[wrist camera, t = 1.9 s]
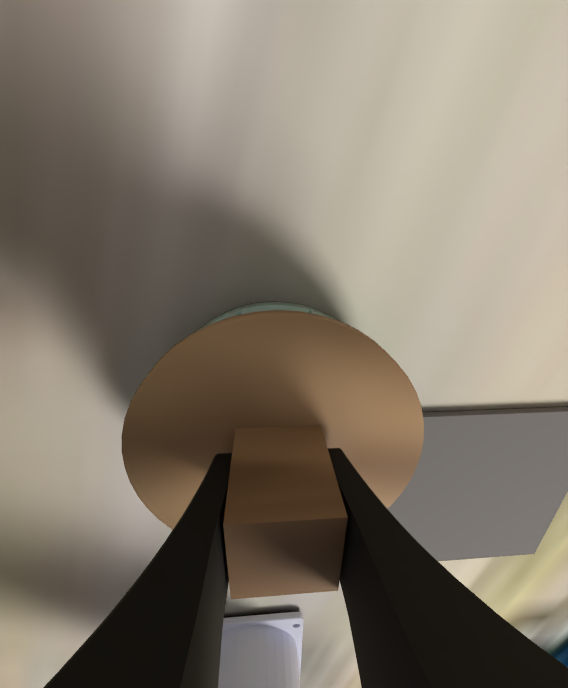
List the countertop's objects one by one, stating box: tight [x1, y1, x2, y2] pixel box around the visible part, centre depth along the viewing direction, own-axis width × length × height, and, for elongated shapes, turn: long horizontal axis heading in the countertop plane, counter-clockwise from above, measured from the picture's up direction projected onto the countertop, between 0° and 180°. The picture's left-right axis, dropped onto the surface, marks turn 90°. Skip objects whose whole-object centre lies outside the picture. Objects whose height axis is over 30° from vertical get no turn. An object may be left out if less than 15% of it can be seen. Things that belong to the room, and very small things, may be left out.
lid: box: [122, 310, 424, 599], centre depth 10 cm, size 11×11×4 cm
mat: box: [388, 407, 568, 561], centre depth 18 cm, size 12×12×1 cm
